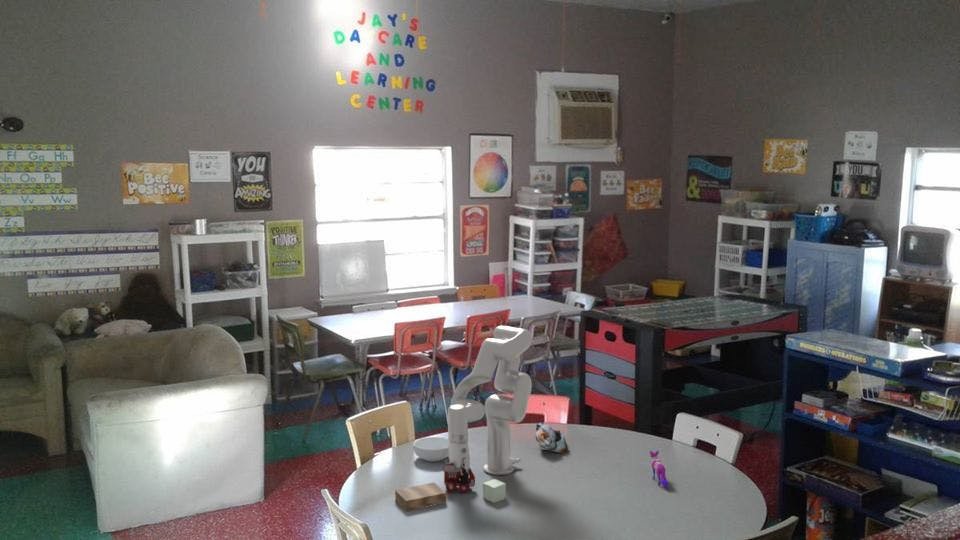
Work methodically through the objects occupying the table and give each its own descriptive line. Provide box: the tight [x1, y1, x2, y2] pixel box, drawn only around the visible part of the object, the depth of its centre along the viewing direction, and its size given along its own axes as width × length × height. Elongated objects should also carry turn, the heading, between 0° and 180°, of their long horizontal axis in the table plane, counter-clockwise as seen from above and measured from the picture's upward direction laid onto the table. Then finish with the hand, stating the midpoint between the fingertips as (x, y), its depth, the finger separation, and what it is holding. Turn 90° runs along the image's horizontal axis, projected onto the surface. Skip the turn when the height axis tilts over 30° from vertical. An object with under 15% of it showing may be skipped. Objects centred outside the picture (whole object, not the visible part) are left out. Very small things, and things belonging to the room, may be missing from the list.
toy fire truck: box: [442, 462, 476, 494], centre depth 308 cm, size 7×12×10 cm, turn 83°
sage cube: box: [482, 478, 507, 504], centre depth 301 cm, size 6×6×6 cm
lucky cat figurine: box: [535, 422, 570, 454], centre depth 351 cm, size 15×12×14 cm
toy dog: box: [649, 450, 669, 488], centre depth 316 cm, size 4×18×10 cm, turn 6°
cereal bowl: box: [412, 436, 449, 463], centre depth 341 cm, size 17×17×7 cm
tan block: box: [394, 482, 447, 512], centre depth 298 cm, size 16×11×4 cm
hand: (458, 479), depth 308 cm, fingers closed on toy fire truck, 8 cm apart
